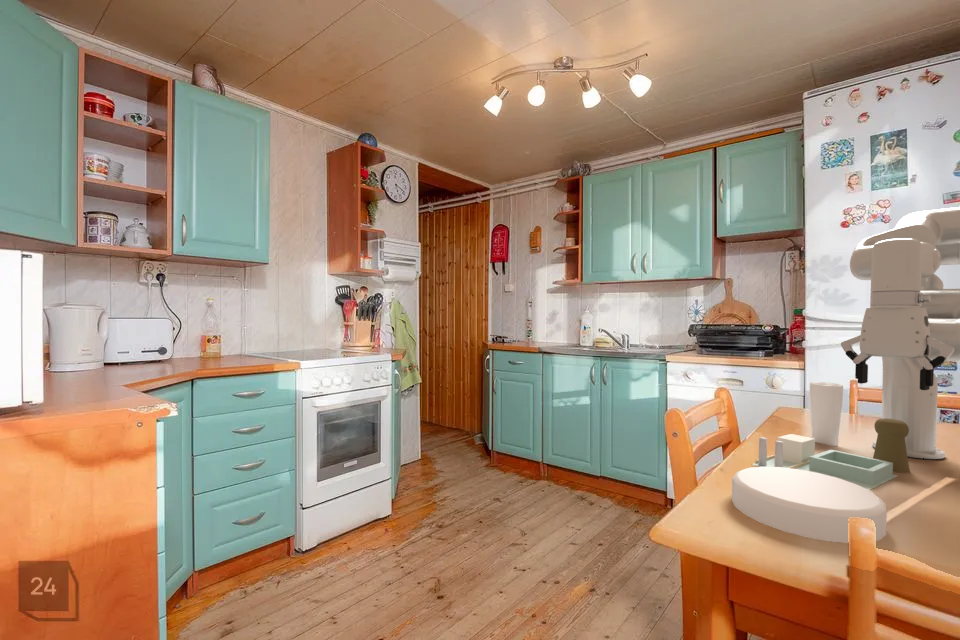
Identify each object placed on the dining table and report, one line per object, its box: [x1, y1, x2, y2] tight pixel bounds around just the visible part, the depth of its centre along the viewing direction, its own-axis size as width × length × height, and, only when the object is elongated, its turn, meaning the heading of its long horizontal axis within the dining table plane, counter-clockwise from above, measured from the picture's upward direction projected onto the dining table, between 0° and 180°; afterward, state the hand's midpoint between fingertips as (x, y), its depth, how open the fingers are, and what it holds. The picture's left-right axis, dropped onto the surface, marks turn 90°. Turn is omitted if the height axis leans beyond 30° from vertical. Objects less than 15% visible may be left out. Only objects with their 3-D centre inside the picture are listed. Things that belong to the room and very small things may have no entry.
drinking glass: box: [808, 381, 844, 447], centre depth 114 cm, size 7×7×15 cm
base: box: [751, 436, 898, 491], centre depth 91 cm, size 18×18×7 cm
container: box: [731, 466, 888, 544], centre depth 73 cm, size 20×20×5 cm
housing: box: [776, 433, 816, 464], centre depth 98 cm, size 6×5×4 cm
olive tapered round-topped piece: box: [872, 418, 910, 474], centre depth 93 cm, size 6×6×11 cm
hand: (892, 386), depth 93 cm, fingers open, 9 cm apart
